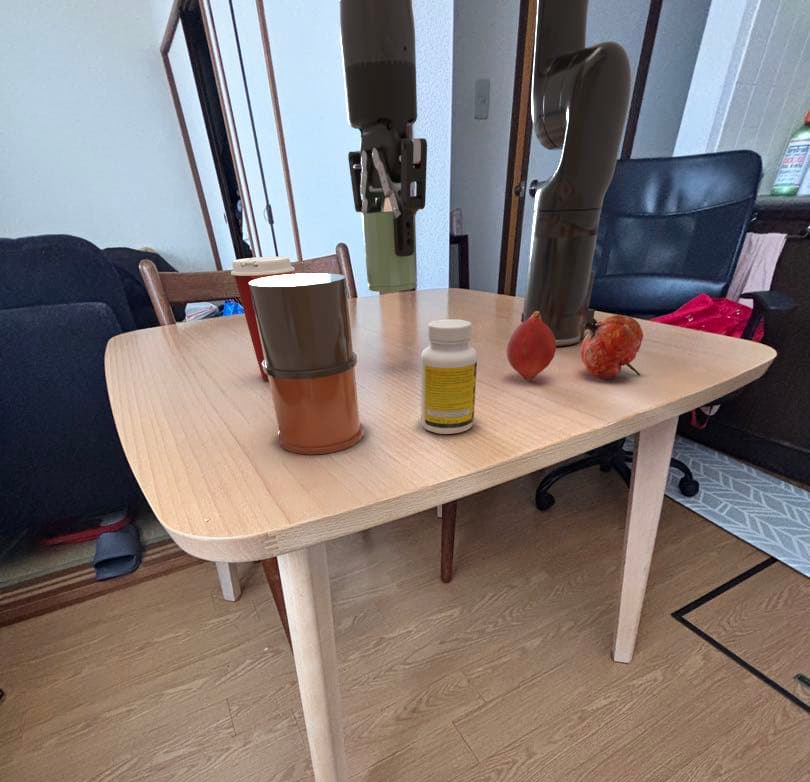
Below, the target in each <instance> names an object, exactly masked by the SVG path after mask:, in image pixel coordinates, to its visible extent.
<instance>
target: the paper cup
mask: <svg viewBox="0 0 810 782" xmlns="http://www.w3.org/2000/svg"><path fill="white" fill-rule="evenodd" d="M231 264H232V270H231V271H230V275H232V276H233V277H234V280H235V285H236V287H237V291H238V295H239V298H240V302H241V306H242V309H243V313H244V317H245V320H246V324H247V329H248V331H249V335H250V338H251V343H252V347H253V349H254V350H253V351H254V355H255V357H256V361H257V364H258V368H259V371H260V374H261V377H262V379H263V381H266V382H269V379H268V375H267V374H266V373H265V372H264V371H263V366H262V362H263V361H264V360H265V359H264V354H263V349H262V344H261V340H260V335H259V330H258V325H257V320H256V315H255V310H254V305H253V300H252V296H251V291H250V286H249V283H250V282H251V281H253V280H257V279H261V278H267V277H273V276H282V275H293V274H294V271H295V267H294V266H292V263H291V259H290V257H289V256H258V257H247V258H239V259H233V260H232V263H231Z"/></svg>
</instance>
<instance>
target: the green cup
mask: <svg viewBox="0 0 810 782" xmlns="http://www.w3.org/2000/svg"><path fill="white" fill-rule="evenodd" d="M361 219H362V220H361V221H362V232H363V244H364V245H363V246H364V256H365V267H366V279H367V287H368V291H370V292H378V293H393V292H402V291H409V290H413V289H415V288H417V286H418V285H417V282H418V273H417V269H418V267H417V237H416V215H415V216H414V218H413V226H414V234H413V235H414V253H413V255H411V256H403V257H400V256H397V255H396V254H395V240H394V221H393V219H397V218H395V217H394V214H393V211H392V210H387V211H383V212H373V213H363V214H362V213H361Z"/></svg>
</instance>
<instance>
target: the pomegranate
mask: <svg viewBox="0 0 810 782" xmlns="http://www.w3.org/2000/svg"><path fill="white" fill-rule="evenodd" d="M584 327H587V328H588V331H589V333H587V334H586V335H585V336H584V338H583V339H582V340H583V341H582V343H581V347H580V355H581V357H580V358H581V362H582V364H583V365H584V366H585V368H586V370H587V371H588V372H589V373H590V375H592V376H594V377H596V378H599V379H603V380H609V379H612V378H615V377H617V375H618V374H620V372H621V370H622V366H626V367H628V368H629V369H630V370H632V371H633V372H634V373H635V374H636V375H637V376H641V373H640V372H639V371H638V370H637V369H636V368H635V367H634V366H633V365H632V364H631V363H632V362H633V360H634V359H635V358H636V356H637V353H638V352H639V351H640V348H641V346H642V341H643V339H644V332H643V329H642V327H641V324H640V323H639V322H638V321H637V320H636V319H635V318H633V317H632V316H628V315H624V314H621V315H620V314H615V315H610V316H608V317H606V318H604V319H603V320H601V321H597V324H596V325H593V324H591V323H588V322H586V323H585V325H584V326H583V328H584Z"/></svg>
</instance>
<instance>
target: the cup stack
mask: <svg viewBox="0 0 810 782" xmlns="http://www.w3.org/2000/svg"><path fill="white" fill-rule="evenodd" d="M249 286H250V291H251V296H252V300H253V305H254V310H255V315H256V320H257V325H258V330H259V335H260V340H261V344H262V349H263V354H264V359H265V360H264V361H263V362H262V366H263V371H264V372H265V373H266V374H267V375H268V379H269V381H268V382H269V389H270V393H271V397H272V403H273V407H274V412H275V417H276V418H275V419H276V423H277V427H278V432H277V436H276V437H277V443H278V444H279V446H280V448H282V449H283V450H285V451H286V452H287V451H288V452H290V453H294V454H297V455H298V454H299V455H324V454H331V453H336V452H339V451H343V450H346V449H348V448H351V447H353V446H355V445H357V443H359V442H360V441H361V440H362V439H363V437H364V434H365V433H364V432H365V431H364V425H363V424H362V423H361V419H360V411H359V401H358V391H357V378H356V370H355V367H356V366H357V364H358V358H357V354H356V353H355V352H354V349H353V347H354V346H353V339H352V338H353V337H352V328H351V316H350V308H349V295H348V287H347V277H346V276H345V275H343V274H339V273H324V272H323V273H320V272H319V273H318V272H317V273H295V274H294V273H293V275H282V276H273V277H267V278H261V279H257V280H253V281H251V282H250V283H249Z"/></svg>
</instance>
